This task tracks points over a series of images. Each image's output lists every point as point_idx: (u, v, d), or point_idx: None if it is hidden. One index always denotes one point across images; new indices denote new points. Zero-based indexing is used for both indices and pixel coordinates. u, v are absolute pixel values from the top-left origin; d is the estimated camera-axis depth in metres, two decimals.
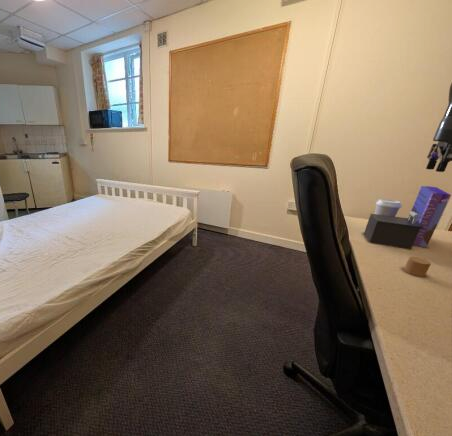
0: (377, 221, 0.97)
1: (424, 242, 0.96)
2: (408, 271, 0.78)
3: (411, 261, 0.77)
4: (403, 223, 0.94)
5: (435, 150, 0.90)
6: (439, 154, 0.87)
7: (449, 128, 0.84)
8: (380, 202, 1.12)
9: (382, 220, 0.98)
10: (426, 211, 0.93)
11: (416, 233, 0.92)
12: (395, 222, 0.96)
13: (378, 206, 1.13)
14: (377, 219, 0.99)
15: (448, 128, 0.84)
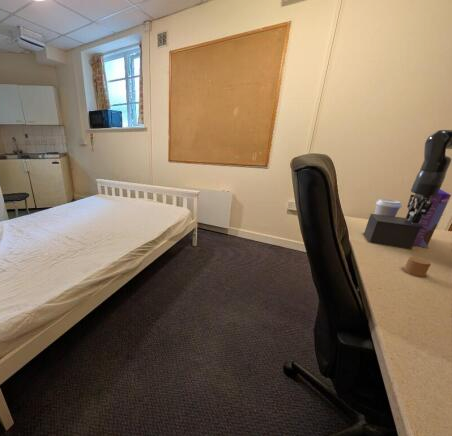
0: (377, 221, 0.97)
1: (424, 242, 0.96)
2: (408, 271, 0.78)
3: (411, 261, 0.77)
4: (403, 223, 0.94)
5: (413, 200, 0.95)
6: (415, 206, 0.92)
7: (425, 183, 0.88)
8: (380, 202, 1.12)
9: (382, 220, 0.98)
10: None
11: (416, 233, 0.92)
12: (395, 222, 0.96)
13: (378, 206, 1.13)
14: (377, 219, 0.99)
15: (424, 183, 0.88)
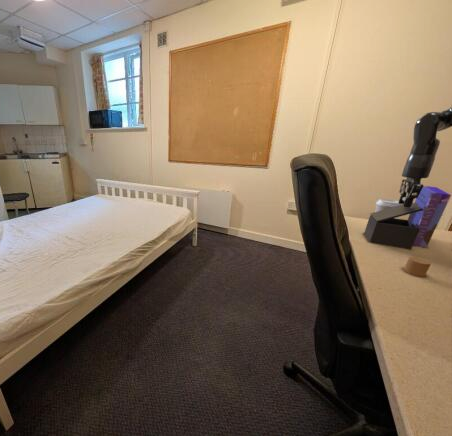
0: (377, 221, 0.97)
1: (424, 242, 0.96)
2: (408, 271, 0.78)
3: (411, 261, 0.77)
4: (402, 212, 0.94)
5: (404, 184, 0.95)
6: (406, 190, 0.92)
7: (415, 166, 0.88)
8: (380, 202, 1.12)
9: (381, 218, 0.98)
10: (426, 211, 0.93)
11: (416, 233, 0.92)
12: (394, 214, 0.95)
13: (378, 206, 1.13)
14: (376, 218, 0.99)
15: (414, 166, 0.89)
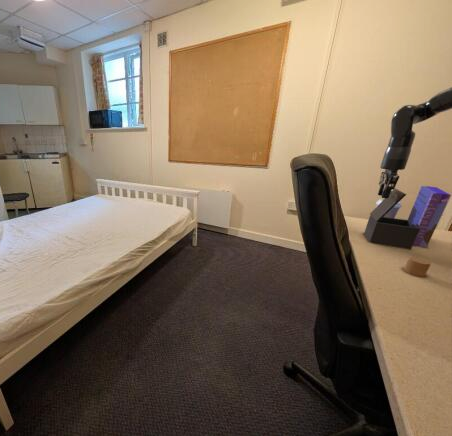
0: None
1: (424, 242, 0.96)
2: (408, 271, 0.78)
3: (411, 261, 0.77)
4: (391, 204, 0.94)
5: (383, 176, 0.97)
6: (384, 182, 0.95)
7: (392, 158, 0.91)
8: (380, 202, 1.12)
9: (378, 216, 0.98)
10: (426, 211, 0.93)
11: (416, 233, 0.92)
12: (386, 208, 0.96)
13: None
14: (375, 218, 0.99)
15: (391, 158, 0.91)
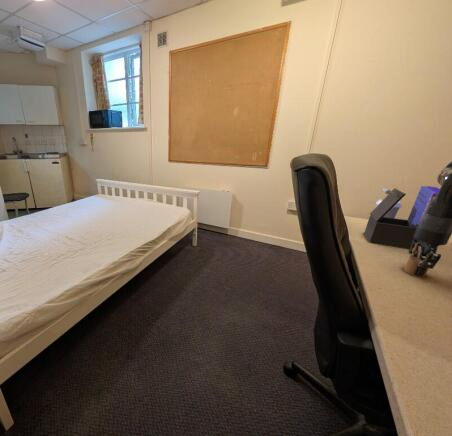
0: None
1: None
2: (408, 271, 0.78)
3: (412, 261, 0.77)
4: (391, 203, 0.95)
5: (416, 247, 0.77)
6: (418, 256, 0.75)
7: (431, 230, 0.71)
8: (380, 202, 1.12)
9: (378, 216, 0.98)
10: None
11: None
12: (386, 208, 0.96)
13: None
14: (375, 218, 0.99)
15: (430, 230, 0.71)
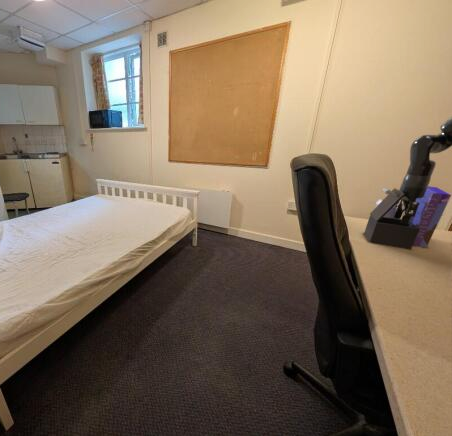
0: None
1: (424, 242, 0.96)
2: None
3: None
4: (391, 203, 0.95)
5: (400, 203, 0.97)
6: (403, 208, 0.94)
7: (411, 186, 0.91)
8: (380, 202, 1.12)
9: (378, 216, 0.98)
10: (426, 211, 0.93)
11: (416, 233, 0.92)
12: (386, 208, 0.96)
13: None
14: (375, 218, 0.99)
15: (410, 186, 0.91)
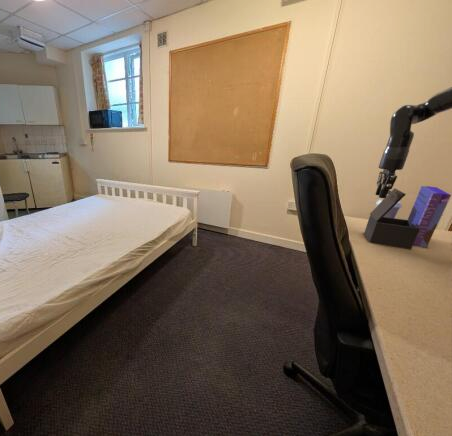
0: None
1: (424, 242, 0.96)
2: None
3: None
4: (391, 203, 0.95)
5: (381, 176, 0.98)
6: (382, 182, 0.95)
7: (390, 158, 0.91)
8: (380, 202, 1.12)
9: (378, 216, 0.98)
10: (426, 211, 0.93)
11: (416, 233, 0.92)
12: (386, 208, 0.96)
13: None
14: (375, 218, 0.99)
15: (389, 158, 0.91)
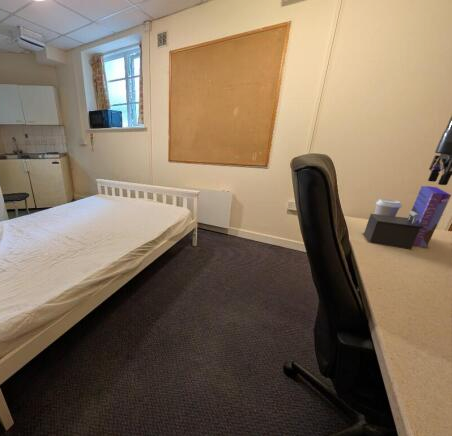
0: (377, 221, 0.97)
1: (424, 242, 0.96)
2: None
3: None
4: (403, 223, 0.94)
5: (437, 162, 0.88)
6: (441, 167, 0.85)
7: None
8: (380, 202, 1.12)
9: (382, 220, 0.98)
10: (426, 211, 0.93)
11: (416, 233, 0.92)
12: (395, 222, 0.96)
13: (378, 206, 1.13)
14: (377, 219, 0.99)
15: (451, 140, 0.82)
